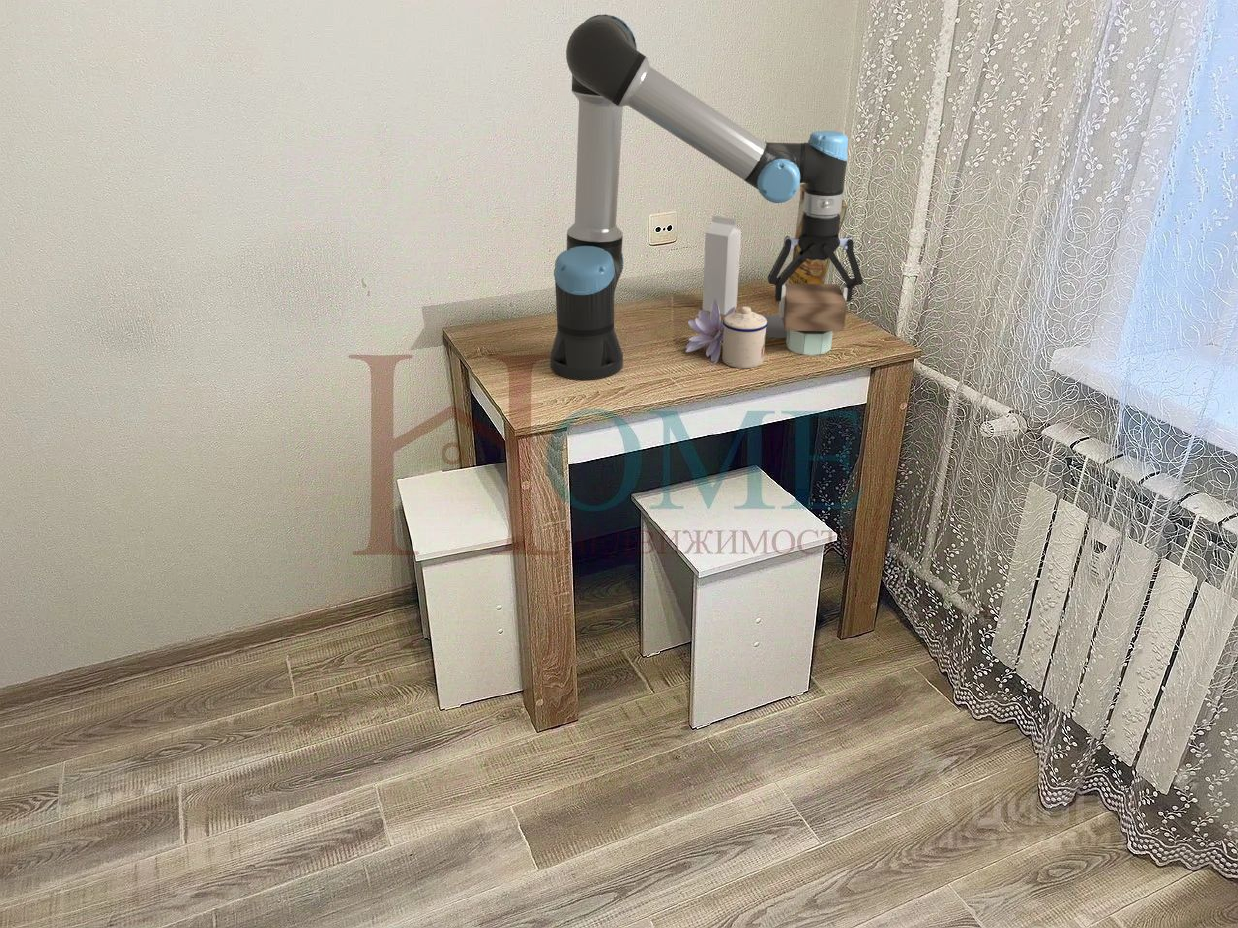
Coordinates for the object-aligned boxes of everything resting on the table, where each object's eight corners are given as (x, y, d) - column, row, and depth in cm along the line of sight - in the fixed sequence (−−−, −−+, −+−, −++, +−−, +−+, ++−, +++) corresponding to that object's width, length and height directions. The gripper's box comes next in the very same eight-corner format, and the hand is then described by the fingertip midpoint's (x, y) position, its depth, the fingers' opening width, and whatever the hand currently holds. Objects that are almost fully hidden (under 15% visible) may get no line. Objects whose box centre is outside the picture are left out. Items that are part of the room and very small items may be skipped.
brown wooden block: (785, 330, 193) (787, 302, 190) (779, 310, 203) (781, 283, 200) (843, 331, 192) (847, 303, 189) (834, 310, 202) (837, 284, 200)
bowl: (790, 356, 197) (792, 334, 194) (784, 340, 205) (786, 319, 202) (832, 356, 197) (835, 334, 194) (825, 340, 205) (827, 319, 202)
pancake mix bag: (803, 296, 229) (814, 180, 216) (836, 323, 213) (851, 200, 200) (777, 298, 228) (786, 182, 214) (809, 326, 212) (821, 202, 198)
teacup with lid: (771, 366, 192) (775, 313, 186) (730, 371, 190) (733, 317, 184) (749, 345, 202) (753, 294, 196) (710, 349, 200) (712, 298, 194)
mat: (736, 338, 206) (736, 337, 206) (733, 316, 218) (733, 314, 218) (800, 339, 205) (800, 338, 205) (793, 316, 217) (793, 315, 217)
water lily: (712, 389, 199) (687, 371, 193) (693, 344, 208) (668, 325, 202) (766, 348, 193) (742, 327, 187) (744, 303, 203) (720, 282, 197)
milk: (714, 304, 225) (719, 212, 214) (736, 309, 222) (742, 216, 211) (701, 311, 221) (705, 218, 210) (724, 316, 218) (729, 222, 207)
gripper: (762, 217, 184) (754, 321, 194) (886, 219, 183) (872, 322, 193) (759, 208, 190) (752, 308, 201) (879, 209, 189) (865, 310, 200)
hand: (811, 315), depth 197 cm, fingers closed on brown wooden block, 12 cm apart
